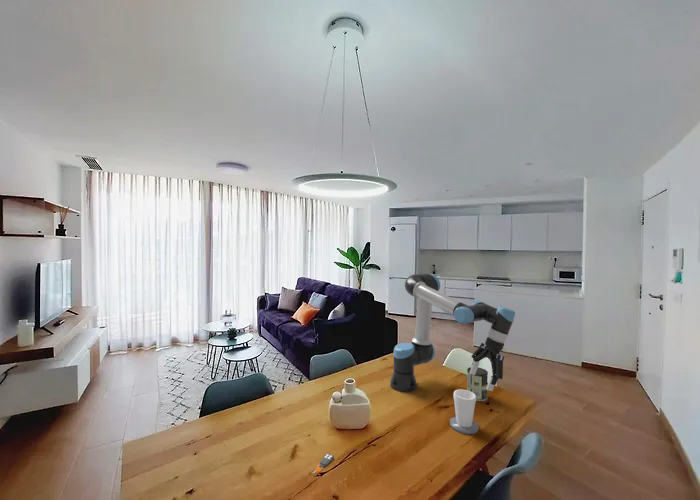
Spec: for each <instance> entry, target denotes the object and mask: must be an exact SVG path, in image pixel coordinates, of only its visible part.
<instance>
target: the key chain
mask: <svg viewBox="0 0 700 500" xmlns="http://www.w3.org/2000/svg"><path fill="white" fill-rule="evenodd" d="M334 459H335V456H334V455H333V454H331V453H326V454H324V457H323V458H322V459H321V460H320V461H319V464H317V467H315V470H313V472H312V474H315V473H316V472H318V473H320V472H321V471H322V468H325V467H327V466H328V465H330V463H331V462H332V461H333V460H334Z"/></svg>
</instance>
